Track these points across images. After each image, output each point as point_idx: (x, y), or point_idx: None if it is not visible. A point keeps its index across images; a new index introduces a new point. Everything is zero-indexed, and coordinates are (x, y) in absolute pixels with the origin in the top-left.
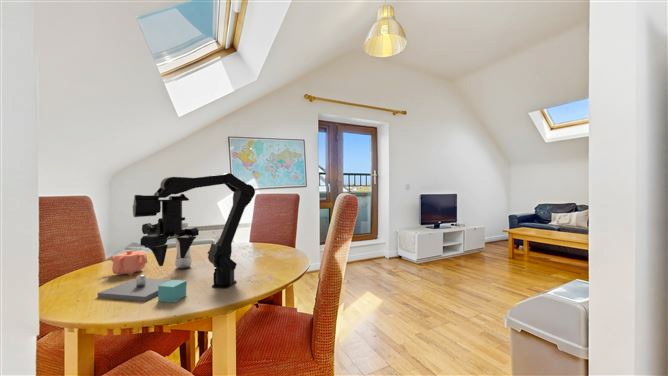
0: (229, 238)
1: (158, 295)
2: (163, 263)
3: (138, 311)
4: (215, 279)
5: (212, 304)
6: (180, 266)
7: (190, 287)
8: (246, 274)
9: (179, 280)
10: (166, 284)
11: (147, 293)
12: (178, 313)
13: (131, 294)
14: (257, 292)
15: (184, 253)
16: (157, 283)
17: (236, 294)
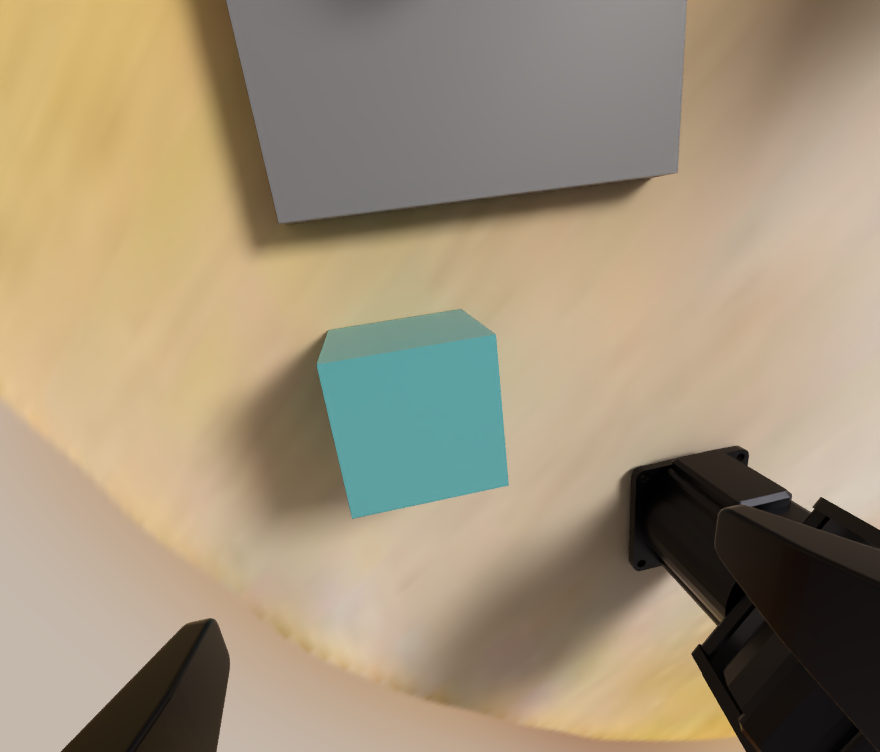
0: None
1: (325, 342)
2: (218, 721)
3: (146, 352)
4: (687, 497)
5: (414, 650)
6: None
7: (607, 330)
8: (861, 497)
9: (499, 424)
10: (375, 406)
11: (339, 171)
12: (254, 595)
13: (258, 13)
14: (601, 715)
15: (791, 645)
16: (572, 7)
17: (558, 656)
